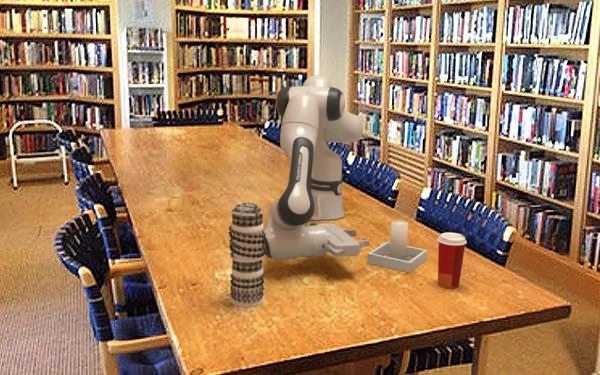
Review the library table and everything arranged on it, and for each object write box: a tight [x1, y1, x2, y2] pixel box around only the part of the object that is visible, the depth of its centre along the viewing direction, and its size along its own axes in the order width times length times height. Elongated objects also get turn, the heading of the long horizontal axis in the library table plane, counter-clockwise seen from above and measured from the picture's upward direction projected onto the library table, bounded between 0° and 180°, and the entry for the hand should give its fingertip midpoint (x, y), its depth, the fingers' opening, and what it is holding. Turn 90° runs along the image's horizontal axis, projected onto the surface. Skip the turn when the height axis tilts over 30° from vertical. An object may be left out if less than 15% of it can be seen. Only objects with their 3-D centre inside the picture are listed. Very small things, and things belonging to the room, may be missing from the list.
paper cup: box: [436, 232, 467, 290], centre depth 170 cm, size 8×8×14 cm
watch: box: [167, 194, 185, 212], centre depth 237 cm, size 6×3×6 cm, turn 112°
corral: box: [366, 241, 429, 274], centre depth 188 cm, size 14×14×3 cm
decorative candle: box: [228, 202, 266, 308], centre depth 155 cm, size 9×9×25 cm
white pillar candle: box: [388, 219, 409, 261], centre depth 187 cm, size 5×5×12 cm
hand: (361, 237), depth 183 cm, fingers open, 8 cm apart
